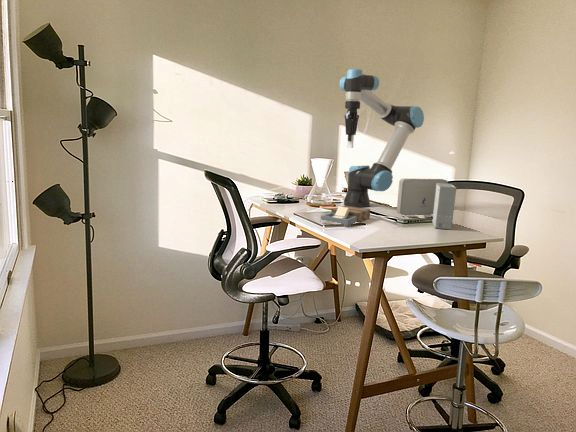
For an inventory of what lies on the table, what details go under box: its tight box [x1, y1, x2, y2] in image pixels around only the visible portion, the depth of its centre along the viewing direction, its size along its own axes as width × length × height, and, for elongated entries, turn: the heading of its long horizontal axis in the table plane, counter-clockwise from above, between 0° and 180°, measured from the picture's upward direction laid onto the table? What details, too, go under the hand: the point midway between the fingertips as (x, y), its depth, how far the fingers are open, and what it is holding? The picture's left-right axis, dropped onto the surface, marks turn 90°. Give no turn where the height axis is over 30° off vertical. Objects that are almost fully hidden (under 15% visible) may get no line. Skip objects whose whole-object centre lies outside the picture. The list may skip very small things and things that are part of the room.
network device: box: [396, 178, 449, 217], centre depth 242 cm, size 26×9×20 cm, turn 104°
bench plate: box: [330, 205, 371, 223], centre depth 231 cm, size 15×14×5 cm
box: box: [320, 212, 357, 228], centre depth 220 cm, size 10×14×4 cm
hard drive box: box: [431, 183, 457, 230], centre depth 223 cm, size 16×8×20 cm, turn 168°
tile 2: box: [335, 206, 349, 219], centre depth 223 cm, size 5×5×2 cm
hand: (350, 147), depth 241 cm, fingers closed
